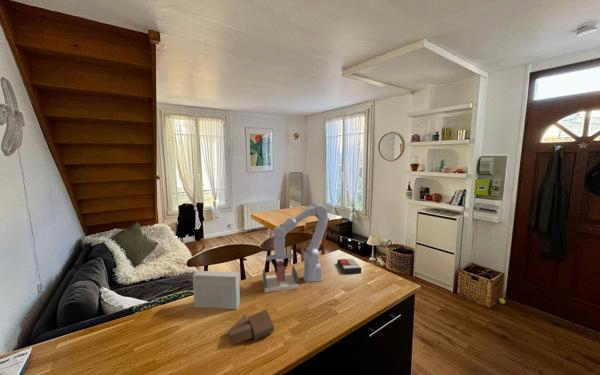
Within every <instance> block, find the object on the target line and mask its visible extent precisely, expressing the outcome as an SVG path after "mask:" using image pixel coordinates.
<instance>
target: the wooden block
mask: <svg viewBox="0 0 600 375" xmlns="http://www.w3.org/2000/svg"><path fill="white" fill-rule="evenodd" d="M274 327H275V325H274V322H273V321H272V319H271V316H270V314H269V312H268V309H266V308H265V309H263V310H261V311H260V312H256V313H254V314H252V315H249V316H247V313H245V314H244V315H243V316H242V317H240V319H238V320H237V322H235V323H234V324H233V325H232V326H231V327H230V328H227V329H226V335H227V336H229V337H228V338H229V340H230V345H231V346H233V345H237V344H239V343H243V342H245V341H248V340H250V339H253V340H254V341H256V340H259V339H260V338H264V336H267V335H269V334H271V333H273V332H274V330H275V328H274Z"/></svg>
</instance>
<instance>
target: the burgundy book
mask: <svg viewBox="0 0 600 375" xmlns="http://www.w3.org/2000/svg"><path fill="white" fill-rule="evenodd" d="M276 269H277V273H275V275H276V277H277V281H278V282H280V281H285V274H286V269H285V267H284V264H283V260H276Z"/></svg>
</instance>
